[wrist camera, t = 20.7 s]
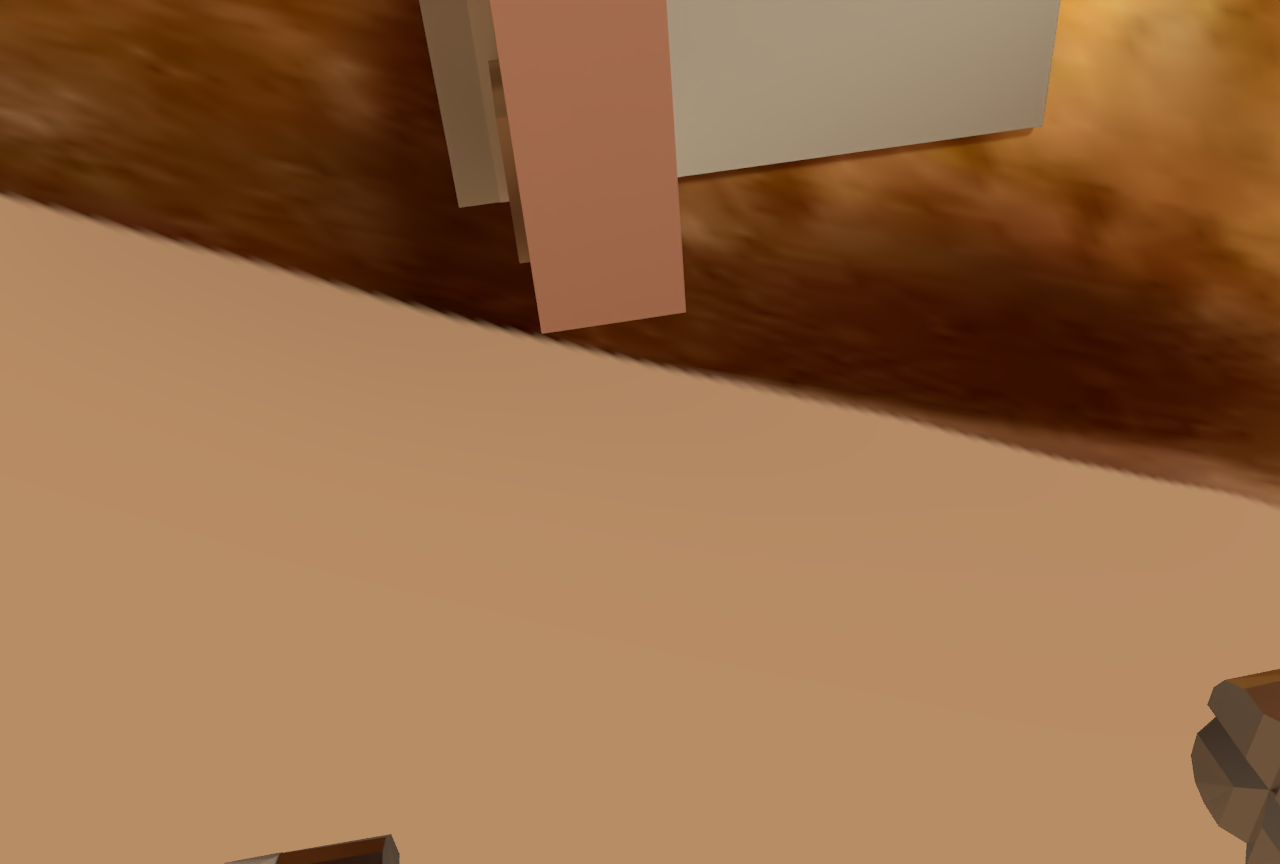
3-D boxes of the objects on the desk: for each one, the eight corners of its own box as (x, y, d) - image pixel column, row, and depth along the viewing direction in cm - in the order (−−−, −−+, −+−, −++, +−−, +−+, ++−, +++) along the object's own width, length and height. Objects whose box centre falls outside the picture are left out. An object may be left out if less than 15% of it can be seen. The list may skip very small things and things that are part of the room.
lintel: (530, 265, 33) (541, 333, 30) (456, -210, 26) (460, -186, 23) (661, 246, 34) (685, 312, 30) (625, -229, 26) (653, -208, 23)
